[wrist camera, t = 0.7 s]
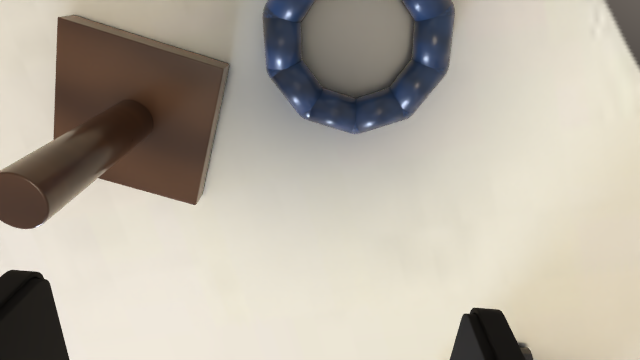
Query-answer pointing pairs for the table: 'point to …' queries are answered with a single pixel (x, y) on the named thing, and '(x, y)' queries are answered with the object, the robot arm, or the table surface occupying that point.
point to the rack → (118, 122)
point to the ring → (372, 109)
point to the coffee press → (526, 353)
